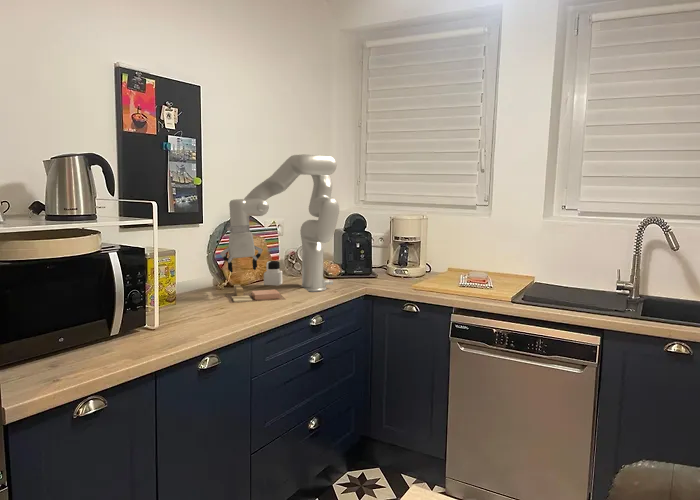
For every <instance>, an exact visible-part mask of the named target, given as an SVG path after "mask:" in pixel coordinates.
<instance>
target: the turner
mask: <svg viewBox="0 0 700 500" xmlns="http://www.w3.org/2000/svg"><path fill="white" fill-rule="evenodd" d="M243 293H244V288H243V287H242V286H241V284H233V294H235V295H236V296H231V298H232V300H233V301H234V302H239V303H248V302H247V301H252V299H251V298H250V296H249V295H248V296H243Z"/></svg>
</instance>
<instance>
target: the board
mask: <svg viewBox="0 0 700 500" xmlns="http://www.w3.org/2000/svg"><path fill="white" fill-rule="evenodd" d="M224 295H225V296H226V298H227V300H228V302H229V303H230V304H235V303H236V304H238V303H240V302H234V301H233V300H232V298H231V296H236V295H235V294H234V293H225V294H224ZM248 295H249V296H250V298H251V299H252V301H247V302H246V303H251V302H252V303H253V302H265V301H267V302H268V301H282V300H286V298H285V297H284V296H283V295H281V293H280V298H278V299H263V300H255V299H254V298H253V297H252V292H245V293H244V292H243V296H248Z"/></svg>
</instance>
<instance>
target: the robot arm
mask: <svg viewBox="0 0 700 500" xmlns="http://www.w3.org/2000/svg"><path fill="white" fill-rule="evenodd" d="M337 165H338V164H337V161H336V159H335V158H334V157H333V156H331V155H327V154H325V155H322V154H321V155H319V154H294V155H293V154H291V156H289V157H288V158H287V159H286V160H285V161H284V162H283V163H282V164H281V165H280V166H279V167H278V168H277V169H276V170H275V171H274V172H273V173H272V174H271V175H270V177H268V178H266V179H264V180H263V181H262V182H260V183H259V184H258V185H256V186H255V187H254V188H253V189H251V191H250V192H249V193H248V194H247V195H246V196H245V197H244V198H240V199H239V198H238V199H232V200H230V201H229V203H228V204H229V205H228V206H229V221H230V222H229V223H230V226H228V227H226V229H227V230H226V231H227V232H230V233H229V234H228V235H229V237H228V247H227V248H225V249H224V250H221V251H220V253H219V254H220V256H221V258H222V259H223V260H225V261H226V262H227V270H228V271H229V272H230V273H233V263H232V260H233V259H241V258H252V260H251V261H252V269H253V270H254V271H256V270H257V268H258V260H259V258H260V257H261V256H262V255H261V254H262V253H263V251H264V250H263V249H262V247H259V246H256V245H255V242H254V235H253V232H252V231H250V230H251V229H250V217H263V216H265V215H266V214H267V213H268V211H269V207H270V206H269V203H268V202H267V200H268V199H270V198H271V197H274V196H276V195H279V194H282V193H283V192H285V191H286V190H287V189H289V187H290V186H291V185H292V184H293V183H294V182H295V181H296V180H297V179H298V178H299V177H300V176H301V175H303V176H304V175H307V176H311V178H312V180H313V181H312V182H313V187H312V192H311V195H310V196H311V197H310V200H309V204H308V212H309V214H310V215H311V216H313V217H314V218H318V219H307V220H306V221H304V222H303V223H302V225H301V226H300V240H301V248H302V249H301V250H302V253H301V255H302V257H301V260H302V261H301V263H302V264H301V285H300V287H302V288H303V289H304V290H306V291H307V292H309V293H310V292H312V293H313V292H323V291H325V290H327V286H328V285H329V286H330V285H333V284H334V280H332V279H331V280H329V279H324V246H323V244H326V243H328V242H330V241H331V240H332V239H333V237H334V235H335V232H336V227H337V225H338V224H337V223H338V220H339V214H340V205H339V202H338V200H337V199H335V198H334V197H332V190H333V181H332V178H331V175H332V174H334V173H335V172H336V170H337ZM256 251H258V252H257V253H256ZM226 253H228V257H227V256H226ZM255 254H256V255H255Z"/></svg>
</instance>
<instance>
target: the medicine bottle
mask: <svg viewBox="0 0 700 500" xmlns="http://www.w3.org/2000/svg"><path fill="white" fill-rule="evenodd" d="M280 268H281V263H280V261H278V260H269V261H267V262H266V268H265V269H266V271H264V273H263V286H277V287H279V286H280V285H282V284H283V270H280Z"/></svg>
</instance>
